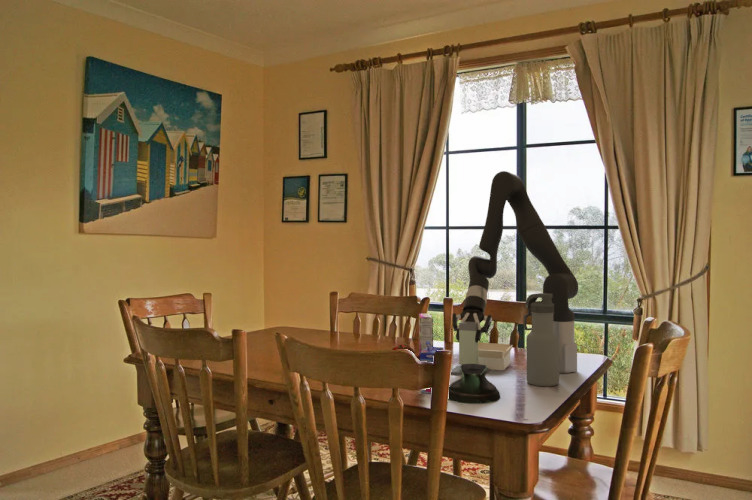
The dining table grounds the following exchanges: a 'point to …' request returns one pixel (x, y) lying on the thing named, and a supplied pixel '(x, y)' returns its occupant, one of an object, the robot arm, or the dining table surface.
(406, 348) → the dragon fruit
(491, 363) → the cream storage bin
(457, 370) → the felt mat
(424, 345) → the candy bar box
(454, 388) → the dark green flared pedestal
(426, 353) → the ink cartridge box
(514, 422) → the dining table surface
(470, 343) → the sage box
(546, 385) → the water bottle
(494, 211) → the robot arm
